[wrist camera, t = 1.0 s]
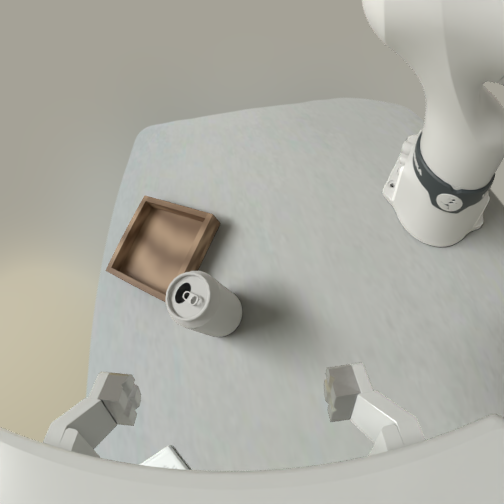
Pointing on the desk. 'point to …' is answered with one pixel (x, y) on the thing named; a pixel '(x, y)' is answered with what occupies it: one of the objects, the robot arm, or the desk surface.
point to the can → (203, 304)
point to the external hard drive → (166, 459)
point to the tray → (162, 245)
